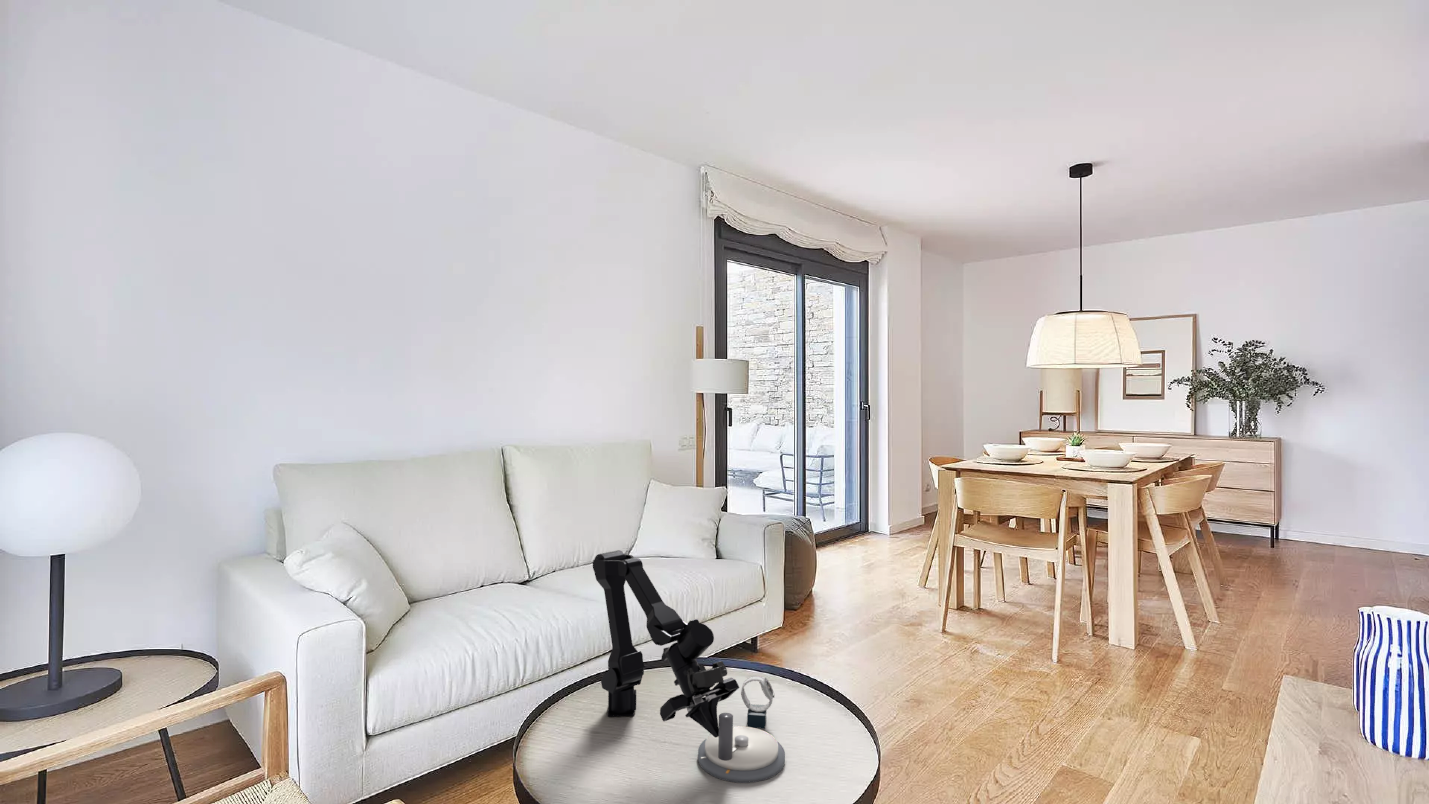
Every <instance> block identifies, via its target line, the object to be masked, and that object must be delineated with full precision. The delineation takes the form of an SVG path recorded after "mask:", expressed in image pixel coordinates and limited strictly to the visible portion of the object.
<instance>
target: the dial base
mask: <svg viewBox="0 0 1429 804" xmlns="http://www.w3.org/2000/svg"><path fill="white" fill-rule="evenodd" d="M706 739H707V738H705V739H704V740H703V741H702V742H701V743H700V744H699V746H698V750H697V753H698V754H697V760H698V764H699V766H700V767H701V769H702V770H703V771H704V772H705V773H706V774H708V775H710V776H712V777H714V778H716V779H719V780H723V781H726V782H732V783H740V784H741V783H745V784H748V783H756V782H761V781H765V780H768V779H770V778H773V777H775V776H776V775H778V774H779V773H780V772H781V771H782V770H783V768H784V767H785V763H786V752H785V749H784V747H783V745H782V744H781V743H780V742H779V741H777V742H778V756H777V758H776V760H775V761H774V762H773V763H771V764H770V765H768V766H766V767H764V768H760V769H756V770H748V771H739V770H731V769H726V768H723V767H721V766H718V765H716V764H714V763H713V762H711V761H710V760H709V759H708V757H707V756H706V754H705V741H706Z"/></svg>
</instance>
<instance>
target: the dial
mask: <svg viewBox="0 0 1429 804" xmlns="http://www.w3.org/2000/svg"><path fill="white" fill-rule="evenodd" d="M718 727H719V736H718V737H716V738H715V737H714V736H713V735H712V734H710V733H709V735H708V736H707V737H706V738H705V739H706V741H705V754H706V756H707V757H708V759H709V760H710V761H711V762H713V763H714V764H716V765H718V766H721V767H723V768H726V769H731V770H739V771H748V770H756V769H760V768H764V767H766V766H768V765H770V764H771V763H773V762H774V761H775V760H776V758H777V756H778V742H779V741H778V742H777V739H776V738H775V737H774V735H772V734H771V733H769V732H767V731H765V730H763V729H761V728H752V727H747V726H744V725H742V726H741V725H740V726H738V725H737V726H735V725H734V715H733V714H732V713H730V712H721V713H720V714H719V715H718Z"/></svg>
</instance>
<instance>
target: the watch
mask: <svg viewBox="0 0 1429 804" xmlns="http://www.w3.org/2000/svg"><path fill="white" fill-rule="evenodd" d="M751 682H759V685H760V687H761V691H762V692H763V695H764V696H765V698H766V699H768V700H769V702H767V703H766V704H756V703H755V704H753V703H751V702H750V700H749V698H748V696H747V694H746V691H745V687H746V685H747V684H749V683H751ZM740 695H741V700H742V702H743V703H744V705H745V707H746V708H747V716H746V719H747V720H746V721H747V722H746V723H747V724H746V727H752V728H757V729H766V726H767V712H768V711H767V710H768V709H769V708H771V706H772V704H773V700H774V698H775V692H774V689H773V686H772V684H771V682H770V681H769V679H768V678H766V677H763V676H760V675H752V676H751V675H750V676H749V677H747V678H746V679H745V680H744V681H743V683H742V687H741V691H740Z"/></svg>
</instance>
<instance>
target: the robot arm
mask: <svg viewBox="0 0 1429 804" xmlns="http://www.w3.org/2000/svg"><path fill="white" fill-rule="evenodd" d="M592 570H593V572H594V576H595V580H596V582H597V583H598V584H599V586H601V588H602V589H603V593H604V599H605V604H606V605H605V607H606V610H607V611H606V612H607V620H608V626H609V632H610V640H611V645H612V648H611V652H610V654H609V657H608V660H607V668H608V670H607V672H606V673H605V674H604V675H603V676H602V678H600V682H601V688H602V689H603V690H605V691H606V692H607V693H608V701H607V702H608V703H607V704H608V705H607V713H606V714H607V717H609V718H610V717H611V718H612V717H632V716H635V711H637V689H636V688H635V687H636V686H639V685H641V684H642V683H641V682H642V679H643V676H644V673H645V667H646V666H645V664H644V657H643V652H642V651H641V650H640V651H639V650H638V649H637V648H636V647H635V646H634V644H633V639H632V638H633V637H632V631H631V625H630V620H629V619H630V618H629V612H628V605H627V601H626V600H627V598H626V593H625V585H626V583H627V584H628V586H629V588H630V590H631V592H632V594H633V596H634V597H635V599H636V601H637V602H638V604H639V605H640V607H641V609H642V610H643V613H644V615H645V617H646V625H645V626H646V629H647V632H648V635H649V636H650V639H651V641H652V642H653V643H654V644H655V645H656V646H660V647H661V646H665V645H668V644H671V643H672V644H671V645H670V646H668V647H664V648H663V650H662V654H661V661H663V662H664V661H668V663H669V665H670V669H672V672H673V674H674V676H675V678H676V679H675V680H674V681H673V683H674V686H679V687H680V690H681V692H682V693H681V694H678V695H676V696H673V697H670V698H668V699H667V701H666V702H664V704H663V705H661V707H660V710H659V715H660V717H661V720H662V722H667V721H669V720H672V719H675V717H676V714H677V712H678V711H681V710H683V709H686V710H687V713H686V714H685V718H690V719H691V720H693V721H694V722H696V723H697V724H699V725H700V726H701V727H702V728H704V730H705V731H707V732H708V733H709V735H710V734H712V735H713V736H714V737H715V738H716V737H718V736H719V718H718V705H719V703H720V702H722V701H726V700H727V699H728V698H730V697H731V696H732V695H733V694H734V693H735V692H736V691H737V690H739V689H740V686H739V683H738V682H737V679H735V678H733V677H729V678H726V679H724V677H726V676H728V670H727V666H726V665H725V663H724V662H723V661H722V660H720V661H717V662H714V663H712V667H711V668H709V669H707V668H706V666H705V665H703V663H702V664H699V663H698V661H697V659H698V658H699V657H701V656H702V655H703V654H704V653H705V651H707V650H708V649H709V648H710V647H711V646H712V644H713V643H714V642H715V641H714V640H715V636H714V632H713V631H712V629H711V628H710V627H709V626H708V625H707V624H704V623H702V622H700V621H699V619H698V618H694V619H691V620H689V621H688V623H687V622H685V621H684V620H683V619H682V618H681V616H680V615H679V614H678V612H677V611H676V610H675V609H673V608H672V607H670V606H668V605H667V604H666V603H665V602H664V601H663V599H662V597H661V595H660V594H659V592H658V591H657V588H656V587H655V586H654V584H653V582H652V581H651V579H650V577H649V575H648V574H647V572H646V571H645V569H644V565H643V562H642V560H641V559H640V558H638V557H634V555H632V554H627V553H624V552H623V551H622V550H613V551H608V552H604V553H603V552H602V553H599V554H596V556H595V557H594V559H593V561H592Z"/></svg>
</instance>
